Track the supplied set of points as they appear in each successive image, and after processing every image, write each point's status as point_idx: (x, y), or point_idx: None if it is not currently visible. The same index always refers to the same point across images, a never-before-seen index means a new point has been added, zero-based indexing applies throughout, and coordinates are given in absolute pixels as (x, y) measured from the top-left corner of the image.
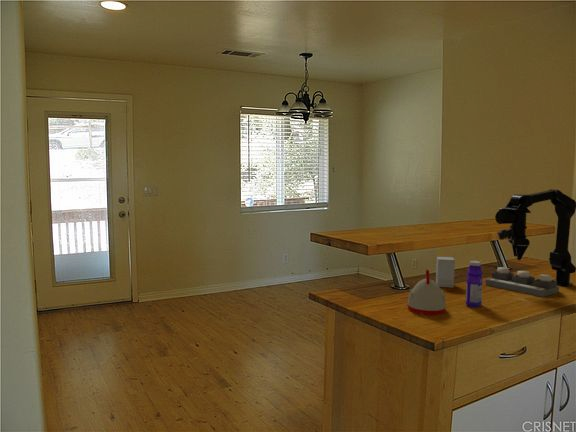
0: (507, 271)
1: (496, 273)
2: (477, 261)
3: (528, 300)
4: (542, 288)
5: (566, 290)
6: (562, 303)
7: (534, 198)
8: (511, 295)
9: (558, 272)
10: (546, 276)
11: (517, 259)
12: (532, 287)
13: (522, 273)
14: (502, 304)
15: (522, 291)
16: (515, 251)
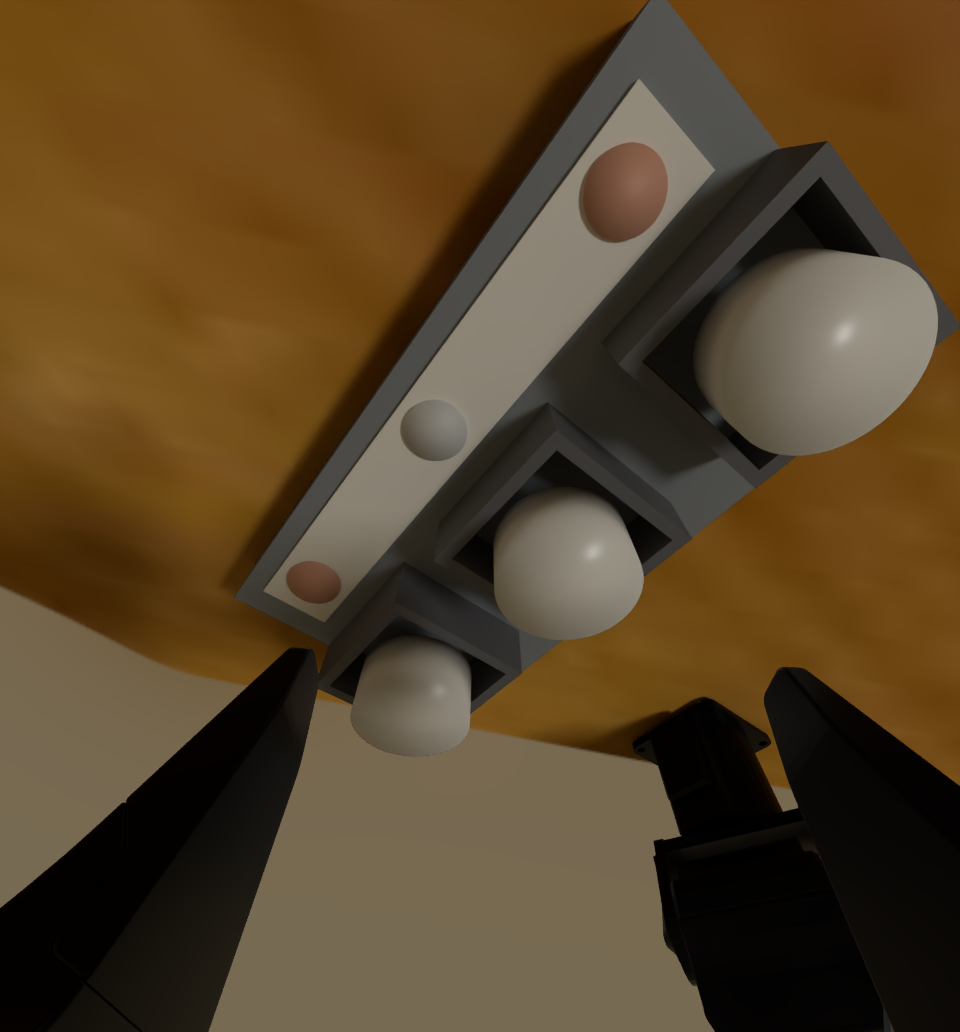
0: (719, 409)
1: (751, 221)
2: None
3: (55, 431)
4: (316, 607)
5: (525, 720)
6: (129, 629)
7: None
8: (164, 306)
9: (711, 809)
10: (374, 721)
11: (297, 651)
12: (320, 544)
13: (498, 559)
14: None
15: (337, 445)
16: (848, 796)
